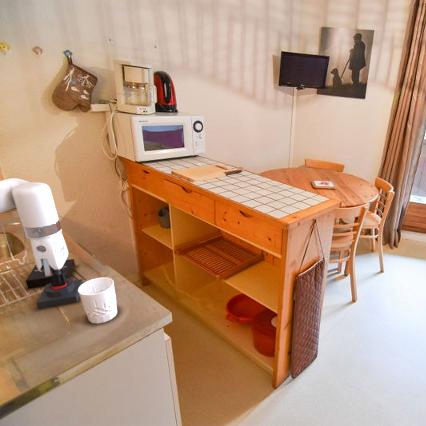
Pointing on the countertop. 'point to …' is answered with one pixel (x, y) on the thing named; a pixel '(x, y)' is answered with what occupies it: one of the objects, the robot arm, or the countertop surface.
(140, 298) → the countertop surface
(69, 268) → the stove panel
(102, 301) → the white cup
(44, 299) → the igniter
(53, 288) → the button
